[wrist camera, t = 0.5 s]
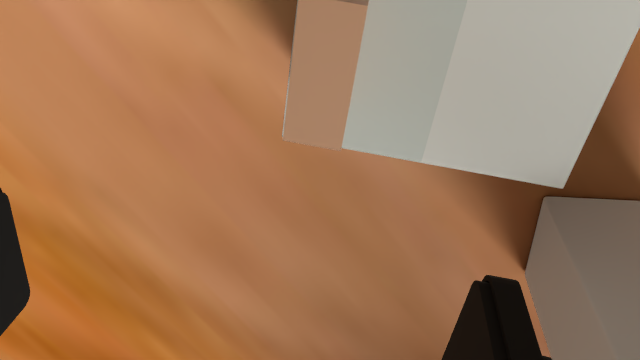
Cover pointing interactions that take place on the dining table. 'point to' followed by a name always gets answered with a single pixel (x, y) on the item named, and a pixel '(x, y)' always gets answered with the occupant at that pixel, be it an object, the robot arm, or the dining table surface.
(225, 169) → the dining table surface
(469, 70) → the lid
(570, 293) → the milk carton
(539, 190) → the dining table surface
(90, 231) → the dining table surface
